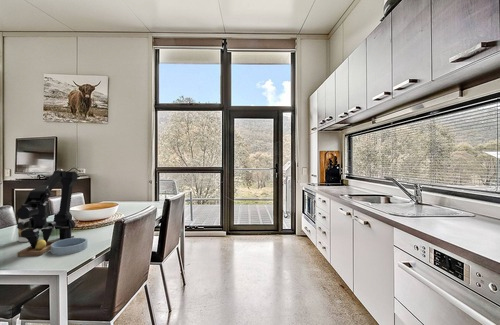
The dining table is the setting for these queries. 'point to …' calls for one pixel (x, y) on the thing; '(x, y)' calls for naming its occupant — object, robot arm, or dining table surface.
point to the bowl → (68, 246)
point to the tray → (35, 250)
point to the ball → (40, 244)
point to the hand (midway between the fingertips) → (39, 245)
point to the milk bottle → (22, 230)
